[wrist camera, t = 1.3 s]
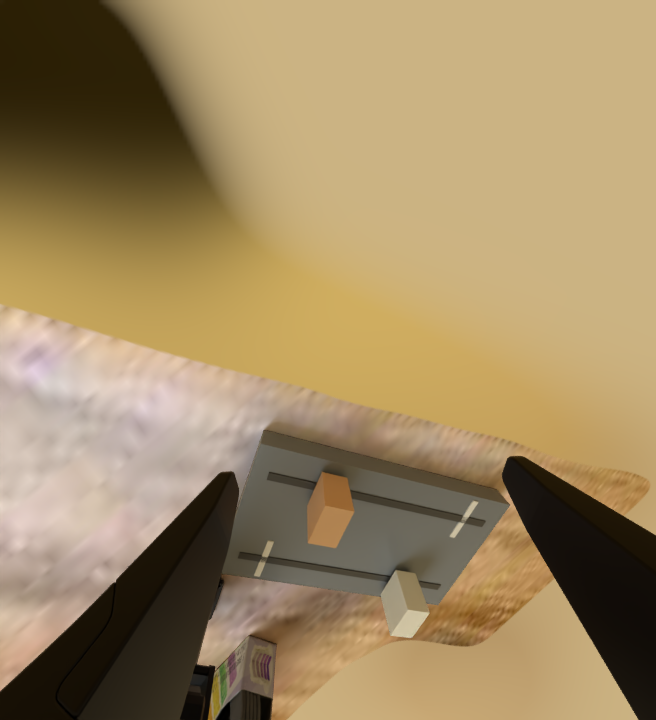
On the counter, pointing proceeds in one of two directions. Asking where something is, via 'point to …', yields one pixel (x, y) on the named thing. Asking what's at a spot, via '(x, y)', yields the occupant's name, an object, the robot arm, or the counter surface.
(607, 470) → the counter surface
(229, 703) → the striped narrow carton
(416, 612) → the cream slider
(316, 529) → the copper slider
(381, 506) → the panel
